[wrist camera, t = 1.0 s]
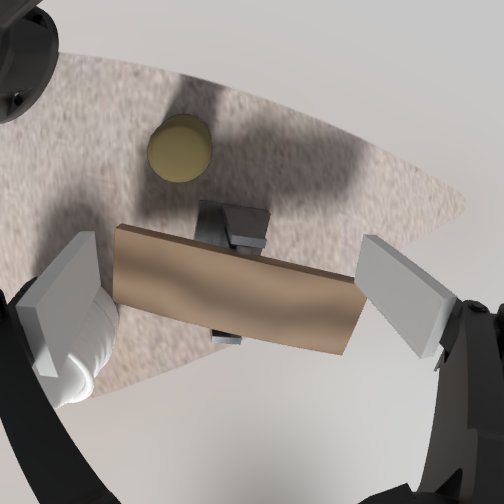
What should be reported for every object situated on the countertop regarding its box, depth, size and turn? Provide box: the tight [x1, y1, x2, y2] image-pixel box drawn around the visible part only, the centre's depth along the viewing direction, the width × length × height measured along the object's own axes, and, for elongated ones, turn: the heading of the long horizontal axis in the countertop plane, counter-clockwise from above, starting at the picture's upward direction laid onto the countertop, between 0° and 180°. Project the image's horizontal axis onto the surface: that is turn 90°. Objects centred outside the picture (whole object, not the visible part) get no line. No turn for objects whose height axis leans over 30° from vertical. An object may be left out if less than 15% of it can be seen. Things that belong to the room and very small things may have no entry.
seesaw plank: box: [113, 224, 367, 355], centre depth 30 cm, size 9×24×2 cm, turn 77°
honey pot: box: [32, 286, 119, 409], centre depth 30 cm, size 13×13×18 cm
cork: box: [148, 114, 212, 182], centre depth 28 cm, size 6×6×11 cm
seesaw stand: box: [194, 200, 271, 344], centre depth 34 cm, size 12×8×10 cm
